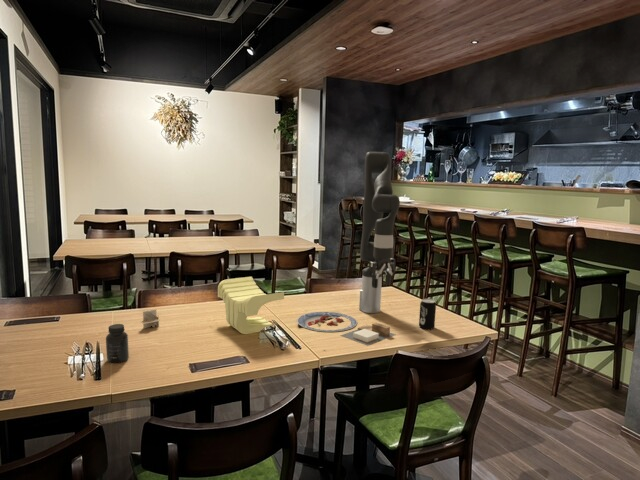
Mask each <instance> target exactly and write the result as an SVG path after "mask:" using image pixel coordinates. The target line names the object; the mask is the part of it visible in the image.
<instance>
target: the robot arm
mask: <svg viewBox="0 0 640 480" xmlns="http://www.w3.org/2000/svg"><path fill="white" fill-rule="evenodd" d="M373 174H378V175H377V177H376V178H375V180H374V179H373ZM363 193H364V196H363V206H362V234H361V241H360V250H359V252H360V253H359V256H360V260H361V261H362V262H369V264H368V267H365V268H363V269H362V274H361V275H362V276H361V278H362V279H361V280H362V281H361V289H360V290H359V307H358V308H359V310H360V311H361V312H363V313H366V314H379V313H380V312H381V304H382V303H381V302H382V301H381V300H382V283H383V282H382V279H383V272H384V273H385V278H384V279H385V281H384V282H385V285H389V286H390V285H391V284H392V276H393V274H396V258H393V256H394V230H395V229H394V227H395V226H394V225H395V220H396V218H397V217H396V216H397V214H398V211H399V209H400V202H401V201H400V198H399V197H398V195H396V194H393V193H394V191H393V185H392V159H391V154H390V153H389V152H385V151H368V152H366V154H365V159H364V192H363ZM384 213H385V214H388V216H386V217H384ZM383 217H384V218H383ZM374 230H375V231H374ZM373 231H374V238H373V241H369V240H370V237H371V234H372V232H373Z"/></svg>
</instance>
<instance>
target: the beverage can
mask: <svg viewBox="0 0 640 480" xmlns="http://www.w3.org/2000/svg"><path fill="white" fill-rule="evenodd" d="M436 311H437V304H436V300H435V299H432V298H422V299H421V301H420V304H419V318H418V320H419V321H418V326H419V327H420V328H421V329H422V330H426V331H427V330H433V329H434V328H435V324H436Z"/></svg>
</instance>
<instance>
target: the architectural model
mask: <svg viewBox="0 0 640 480" xmlns="http://www.w3.org/2000/svg"><path fill="white" fill-rule="evenodd" d="M160 321H161V320H160V317H159V316H158V315H157V308H155V309H150V310H143V311H142V320H140V323H142V325H143V329H147V328H151V326H152V327H153V328H155V327H156V326H157V327H159V326H160ZM155 325H156V326H155Z"/></svg>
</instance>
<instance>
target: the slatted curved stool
mask: <svg viewBox="0 0 640 480" xmlns="http://www.w3.org/2000/svg"><path fill="white" fill-rule="evenodd" d="M217 298H220V299H222V300H223V303H224V304H225V305H224V308H225V314H226V316H225V317H226V322H227V324H228V325H230V326H231V327H232V328H234V329H235V330H237V332H239V334H240V333H241V334H242V335H247V334H255V333H259V332H261V331H260V330H261V329H263V328H265V327H269V326H273V325H274V324H273V323H272V322H269V321H268V320H267V319H266V318H264V317H263V316H257V315H258V313H259V310H260V309H261V307H262V306H264V305H266V304H268V303H271V302H274V301H275V302H277V301H281V300H285V291H283V292H281V291H280V292H276V293H267V294H266V293H264V291H263V290H262V289H260V287H259V286H258V285H257V283H256V282H255V280H254V278H253V276H245V277H235V278H227V279H224V280H221V281H220V282H219V284H218V286H217ZM253 316H254V317H253ZM255 316H257V317H255ZM273 327H274V326H273Z"/></svg>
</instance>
